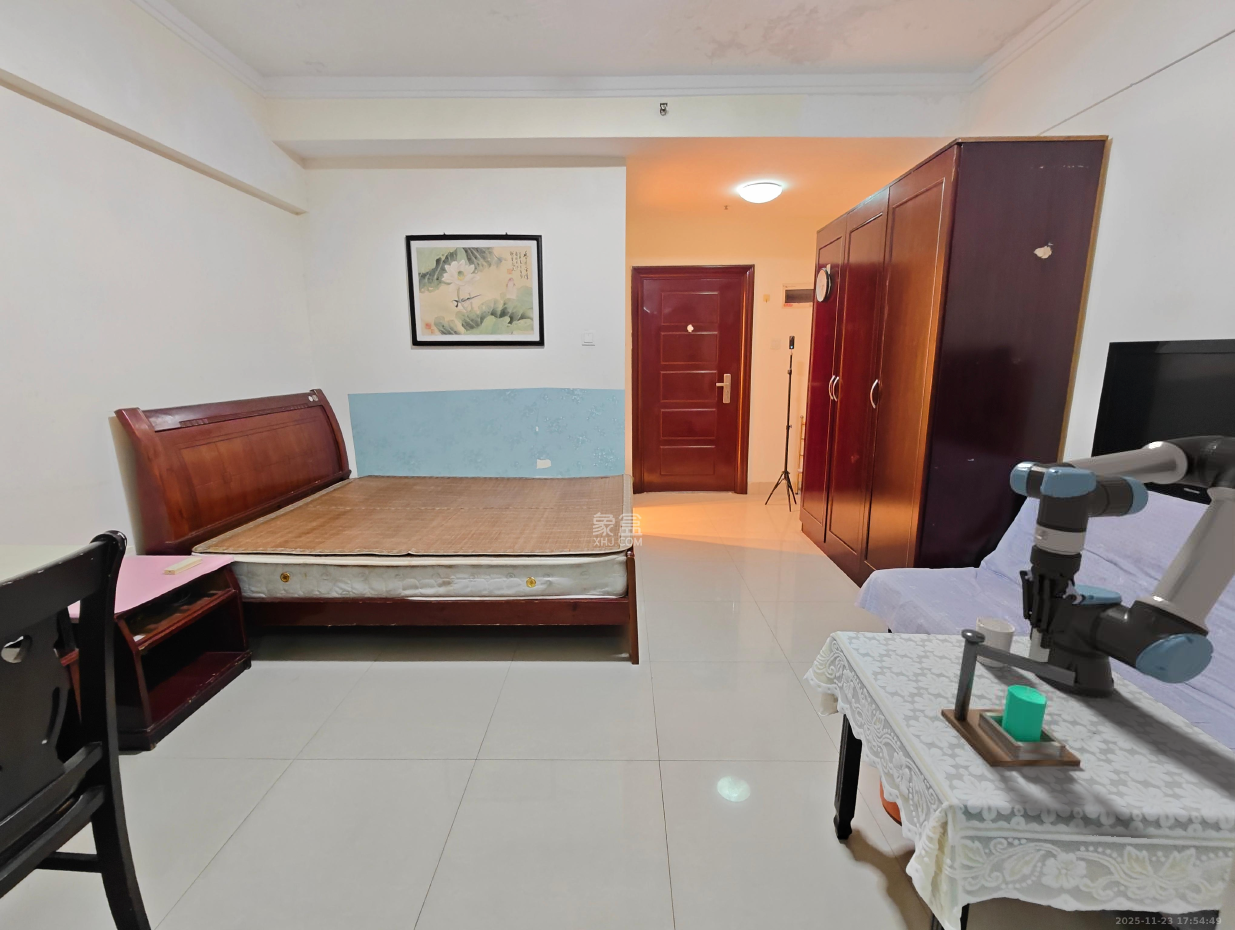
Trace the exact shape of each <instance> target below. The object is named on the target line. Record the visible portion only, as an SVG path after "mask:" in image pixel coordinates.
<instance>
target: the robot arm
mask: <svg viewBox="0 0 1235 930" xmlns="http://www.w3.org/2000/svg"><path fill="white" fill-rule="evenodd" d="M1009 478H1010V479H1009V484H1010V487H1011V489H1012V490H1013V491H1014V492H1015V493H1016V494H1020V495H1022V496H1026V497H1027V498H1031V499H1037V500H1039V502H1038V503H1039V504H1038V511H1037V518H1036V521H1035V522H1036V523H1035V527H1034V534H1033V540H1032V541H1033V543H1034V544H1033V545H1032V546H1031V551H1030V556H1029V563H1030V564H1031V566H1030V569H1028V570H1026V569H1025V570H1022V569H1021V570H1019V577H1020V579H1021V591H1022V592H1021V593H1022V594H1021V595H1022V616H1023V617H1022V618H1023V619H1025V620H1026V621H1027V620H1028V622H1029V625H1030V631H1029V632H1030V634H1029V641H1030V646H1029V651H1028V657H1027V658H1029V659H1033V660H1036V661H1039V662H1042V663H1045V664H1049V665H1052V666H1055V667H1058V668H1061V669H1065V670H1068V671H1071V672H1074V673H1075V679H1074V684H1073V686H1071V685H1068V684H1065V683H1062V682H1059V681H1055V680H1052V679H1049V678H1046V677H1043V676H1040V675H1037V674H1034V675H1035V676H1036V677H1038V678H1039V679H1040V680H1042V681H1044V682H1045V683H1047V684H1049V685H1051V686H1052V687H1054V688H1057V689H1060V690H1062V691H1065V692H1068V693H1071V694H1075V695H1078V696H1083V697H1088V698H1098V699H1099V698H1100V699H1101V698H1107V697H1110V696H1112V695H1113V692H1114V688H1115V680H1114V677H1113V671H1112V666H1111V663H1110V658H1111V659H1114V660H1116V661H1118V662H1120V663H1121V664H1124V665H1126V666H1128V667H1130V668H1132V669H1134V670H1136V671H1137V672H1139V673H1140V674H1142V675H1144V676H1148V677H1151V678H1154V679H1156V680H1158V681H1160V682H1162V683H1165V684H1171V685H1173V684H1174V685H1176V684H1177V685H1178V684H1183V683H1184V682H1188V681H1191V680H1193V679H1194V678H1196V677H1198V676H1199V675H1200V674H1201V673H1202V672H1204V671H1205V670H1206V669H1207V667H1208V666H1209V665H1210V663H1211V661H1212V659H1213V656H1212V654H1214V645H1213V644H1212V642H1211V641H1210V639H1208V638H1207V636H1208V635H1209V633H1210V630H1209V627H1208V626H1207V624H1206V622H1205V619H1206V618H1207V617H1208V615H1209V614H1210V612H1211V611H1212V610H1213V607H1214V606H1215V605H1216V603H1217V602H1218V600H1219V598H1221V596H1222V594H1223V592H1224V591H1225V589H1226V588H1227V587H1228V585H1229V584H1230V582H1231V581H1232V579H1233V578H1234V576H1235V437H1234V436H1233V437H1232V436H1226V435H1225V436H1223V435H1199V436H1188V437H1179V438H1173V439H1166V440H1161V441H1154V442H1152V443H1151V442H1150V443H1148V444H1146V445H1144V446H1143V447H1142V448H1140V449H1135V450H1127V451H1123V452H1122V451H1120V452H1115V453H1109V454H1103V455H1098V456H1091V457H1085V458H1078V459H1073V460H1067V461H1066V460H1065V461H1060V462H1059V461H1058V462H1053V463H1046V464H1045V463H1040V462H1037V461H1035V462H1033V461H1022V462H1020V463H1018V464H1017V465H1016V466H1015V467H1014V468H1013V469H1012V471H1011V473H1010V476H1009ZM1151 482H1152V483H1154V484H1159V485H1166V484H1167V485H1169V484H1183V485H1192V486H1195V487H1201V488H1204V489H1206V492H1207V494H1208V496H1209V497H1210V499H1211V502H1210V503H1209V505H1208V506H1207V508H1206V509H1205V511H1204V512H1203V513H1202V516H1201V517H1200V518H1199V520H1198V522H1197V523H1196V525H1195V526H1194V527H1193V529H1192V531H1191V533H1190V534H1189V536H1188V537H1187V538H1186V540H1184V541H1185V542H1183V544H1182V546H1181V548H1180V549H1179V550H1178V552H1177V553H1176V555H1175V557H1174V558H1173V560H1172V561H1171V563H1170V564H1169V566H1168V567H1167V569H1166V571H1165V572H1164V574H1163V575H1162V576H1161V578H1160V580H1159V581H1158V583H1157V584H1156V585H1155V587H1154V589H1153V590H1152V592H1151V593H1150V595H1149V596H1146V597H1141V598H1136V599H1135V600H1134V602H1133V603H1132V605H1130V607H1129V606H1127V605H1124V604H1122V602H1123V601H1124V600H1123V597H1122V595H1121V594H1120V593H1119V592H1116V591H1114V590H1111V589H1107V588H1103V587H1099V586H1093V585H1086V584H1085V585H1084V584H1076V582H1075V576H1076V574H1077V573H1078V572H1079V571H1080V570H1081V564H1082V558H1083V554H1082V553H1081V552H1083V551H1084V548H1085V542H1086V535H1087V531H1088V524H1089V518H1091V519H1092V518H1104V517H1105V518H1107V517H1108V518H1110V517H1117V518H1120V517H1124V516H1131V515H1135V514H1138V513H1139V512H1142V511H1143V510H1144V509H1145V508H1146V506H1147V504H1148V501H1149V491H1148V489H1147V487H1146V486H1145V483H1151Z"/></svg>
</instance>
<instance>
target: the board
mask: <svg viewBox="0 0 1235 930" xmlns="http://www.w3.org/2000/svg"><path fill="white" fill-rule="evenodd" d="M954 709H955V708H950V709H949V708H948V709H947V708H941V712H940V716H942V717H943V718H944V719H945V720H946V722H948V723H949V724H950V725H951V726H952V727H953V728H954V730H956V731H957V732H958V733H959V734H960V736H961V737H962V738H963V739H964V740H965V741H966V743H968V744H969V745H970V746H971V748H973V750H975V752H976V753H978V754H979V756H980V757H981V758H982V759H983V760H984V761H985V762H986V763H987V764H988V765H989V766H990V767H1080V766H1081V761H1082V760H1081V759H1080V758H1079V757H1077V756H1076V755H1075V754H1074V753H1073V752H1071V751H1070V750H1069V749H1068V748H1067V745H1066V744H1065V743H1064V742H1062V741H1061V740H1060V739H1059V738H1057V737H1056V736H1055V735H1054V734H1053V733H1052V732H1051V731H1050V730H1048V729H1046V727H1044V726H1043V725H1042V729H1041V734H1040V740H1039V742H1016V741H1015V740H1014V739H1013V738H1012V737H1011V736H1010V735H1009V734H1008V733H1007V732H1006V731H1004V730H1003V729H1002V728H1001V726H1002V720H1003V714H1004V709H1005V708H1004V709H1003V708H999V709H996V708H991V709H990V708H988V709H987V708H976V709H975V708H970V709H969V711H968V717H967V720H966V721H961V720H958V719H956V718H955V717H954Z"/></svg>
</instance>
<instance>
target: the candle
mask: <svg viewBox="0 0 1235 930" xmlns="http://www.w3.org/2000/svg"><path fill="white" fill-rule="evenodd" d="M1047 702H1048V699H1047V698H1046V697H1045V696H1044V695H1043V694H1042V693H1041V692H1040V691H1039V690H1038V689H1036V688H1034V687H1033V688H1032V687H1030V686H1026V685H1020V684H1015V685H1010V686H1009V687H1008V688H1007V692H1006V697H1005V704H1004V714H1003V720H1002V726H1001V728H1002V729H1003V730H1004V731H1006V732H1007V733H1008V734H1009V735H1010V736H1011V737H1012V738H1013V739H1014V740H1015V741H1016V742H1039V740H1040V734H1041V729H1042V726H1043V724H1044V718H1045V712H1046V707H1047Z"/></svg>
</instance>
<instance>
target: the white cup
mask: <svg viewBox="0 0 1235 930" xmlns="http://www.w3.org/2000/svg"><path fill="white" fill-rule="evenodd" d="M975 631H978V632H980V633H982V634H984V635H985V641H984V642H983V643H981V644H984V645H987V646H991V647H994V648H997V649H1000V650H1004V651H1007V652H1010V653H1011V650H1012V649H1011V647H1012V645H1013V640H1014V637H1015V631H1016V628H1015V626H1013V624H1011V623H1009V622H1008V621H1005V620H1002V619H999V618H995V617H994V618H993V617H990V616H989V617H988V616H985V617H984V616H982V617H978V618H976V625H975ZM977 661H978V662H979V663H981V664H982V665H985V666H986V667H987V666H988V667H991V668H995V669H996V668H998V669H999V668H1001V669H1002V668H1004V667H1006V666H1007V665H1006V664H1003V663H1000V662H997V661H994V660H991V659H988V658H985V657H981V656H978V655H977ZM977 661H976V662H977Z"/></svg>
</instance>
